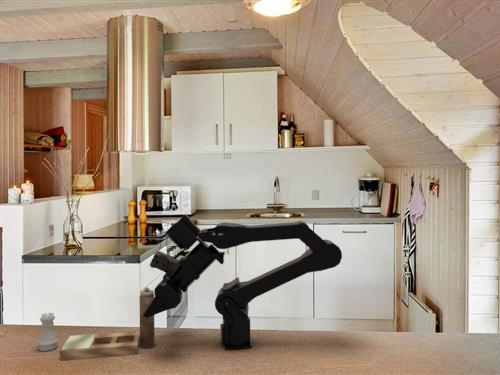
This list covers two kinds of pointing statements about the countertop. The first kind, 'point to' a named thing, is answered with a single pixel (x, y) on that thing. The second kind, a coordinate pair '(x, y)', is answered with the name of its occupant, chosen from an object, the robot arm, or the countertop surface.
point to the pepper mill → (146, 320)
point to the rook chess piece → (47, 333)
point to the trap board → (100, 345)
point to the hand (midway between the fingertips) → (148, 310)
